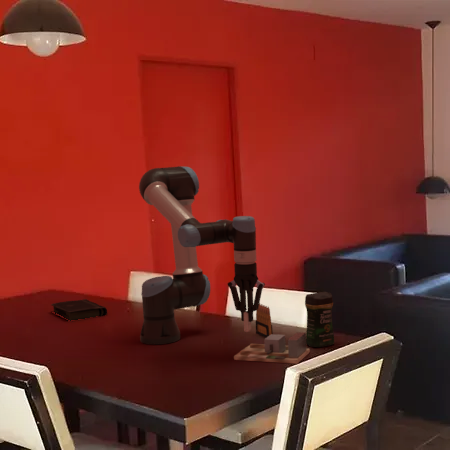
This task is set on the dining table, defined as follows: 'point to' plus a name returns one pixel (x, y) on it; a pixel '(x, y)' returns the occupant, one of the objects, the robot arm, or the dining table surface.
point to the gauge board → (258, 354)
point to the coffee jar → (319, 319)
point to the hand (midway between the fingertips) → (247, 330)
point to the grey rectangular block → (275, 343)
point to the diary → (79, 309)
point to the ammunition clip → (263, 321)
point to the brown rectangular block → (297, 345)
